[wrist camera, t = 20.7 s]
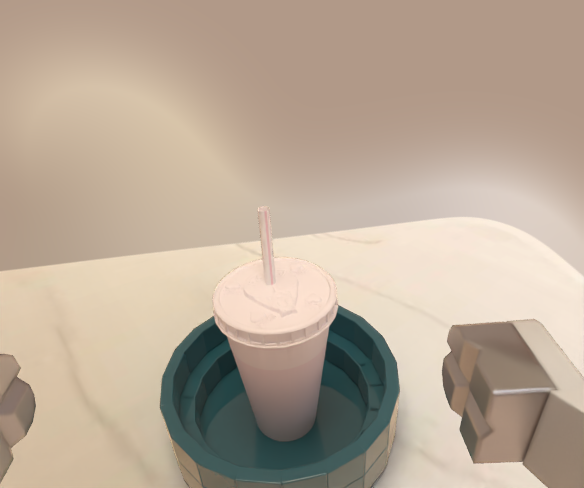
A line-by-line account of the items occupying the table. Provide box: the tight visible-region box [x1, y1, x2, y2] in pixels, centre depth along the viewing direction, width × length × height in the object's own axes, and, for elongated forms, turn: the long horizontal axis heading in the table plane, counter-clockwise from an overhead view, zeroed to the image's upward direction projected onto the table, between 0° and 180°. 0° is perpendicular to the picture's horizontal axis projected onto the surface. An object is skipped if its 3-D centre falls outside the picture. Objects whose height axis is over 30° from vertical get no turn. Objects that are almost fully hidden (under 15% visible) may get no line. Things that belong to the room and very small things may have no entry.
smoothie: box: [213, 206, 338, 441], centre depth 24 cm, size 6×6×14 cm
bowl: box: [160, 305, 400, 488], centre depth 27 cm, size 13×13×4 cm
